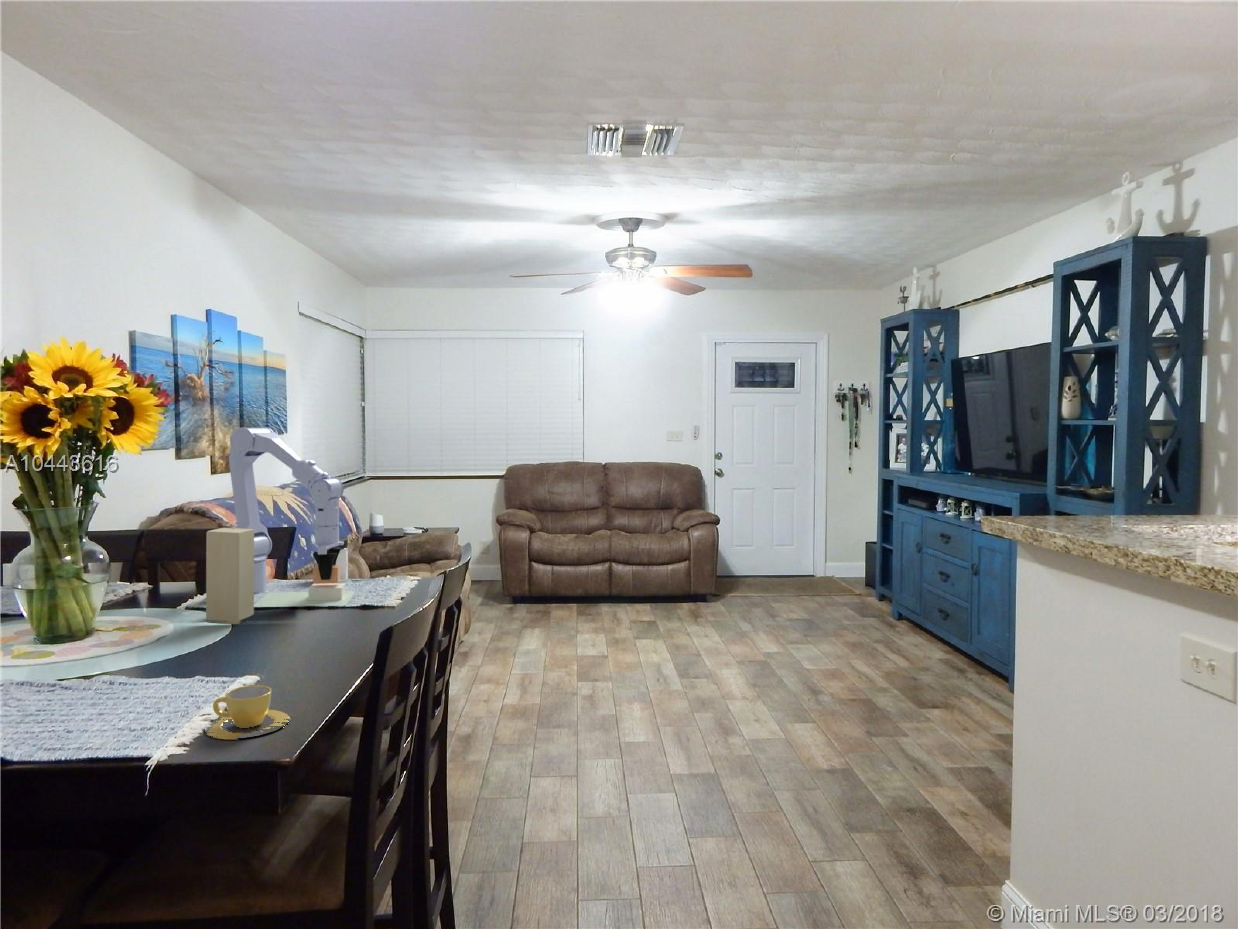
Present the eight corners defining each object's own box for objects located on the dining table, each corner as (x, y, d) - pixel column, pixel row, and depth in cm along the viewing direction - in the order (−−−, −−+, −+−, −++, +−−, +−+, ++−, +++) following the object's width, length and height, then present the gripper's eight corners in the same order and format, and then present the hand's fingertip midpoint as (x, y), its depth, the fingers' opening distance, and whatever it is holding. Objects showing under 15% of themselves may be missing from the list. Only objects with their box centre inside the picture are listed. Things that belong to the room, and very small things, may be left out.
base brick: (308, 600, 202) (308, 588, 202) (313, 595, 208) (313, 583, 208) (341, 599, 204) (341, 588, 203) (345, 594, 210) (345, 583, 209)
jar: (346, 583, 227) (346, 541, 227) (315, 583, 226) (315, 541, 225) (349, 576, 236) (349, 536, 235) (320, 577, 234) (320, 536, 234)
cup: (297, 710, 130) (297, 678, 130) (279, 740, 118) (279, 704, 118) (218, 714, 128) (218, 681, 128) (192, 744, 116) (192, 707, 116)
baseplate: (251, 610, 194) (251, 607, 194) (268, 595, 210) (268, 592, 210) (346, 608, 198) (346, 604, 198) (355, 594, 214) (355, 591, 214)
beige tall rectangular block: (256, 616, 188) (256, 528, 187) (239, 624, 181) (238, 532, 180) (224, 615, 189) (223, 527, 188) (205, 623, 182) (204, 531, 181)
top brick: (312, 583, 203) (312, 568, 203) (316, 580, 207) (315, 565, 207) (337, 583, 204) (337, 567, 204) (340, 580, 208) (340, 564, 208)
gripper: (338, 529, 198) (338, 583, 199) (347, 521, 213) (347, 572, 213) (308, 529, 197) (309, 583, 198) (320, 521, 211) (320, 572, 212)
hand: (327, 577), depth 206 cm, fingers closed on top brick, 4 cm apart
